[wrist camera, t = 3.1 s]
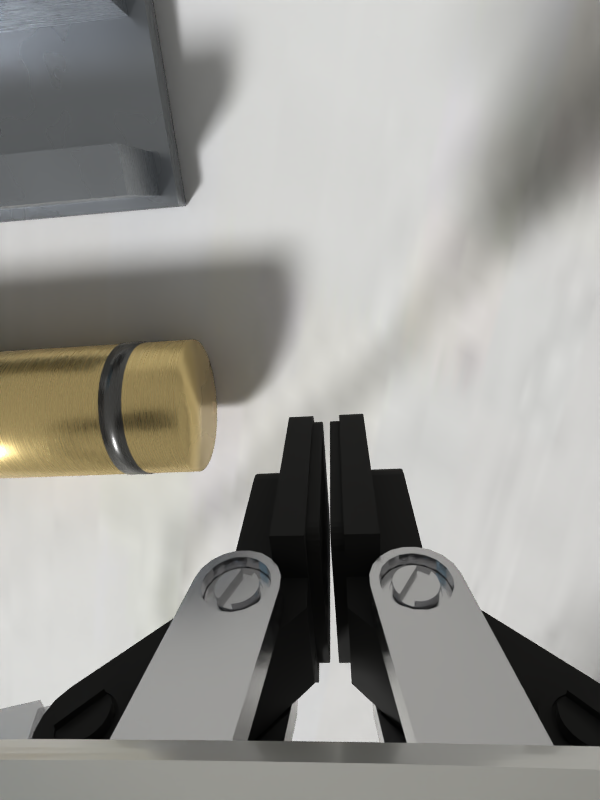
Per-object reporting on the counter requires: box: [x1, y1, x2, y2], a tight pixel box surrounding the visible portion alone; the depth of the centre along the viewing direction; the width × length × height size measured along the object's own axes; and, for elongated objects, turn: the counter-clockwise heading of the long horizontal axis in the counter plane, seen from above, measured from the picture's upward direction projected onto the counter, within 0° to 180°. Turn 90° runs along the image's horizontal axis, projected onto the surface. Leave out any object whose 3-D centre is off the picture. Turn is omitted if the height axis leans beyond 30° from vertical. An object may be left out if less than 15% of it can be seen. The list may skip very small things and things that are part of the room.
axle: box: [0, 340, 217, 478], centre depth 16 cm, size 14×4×4 cm, turn 95°
